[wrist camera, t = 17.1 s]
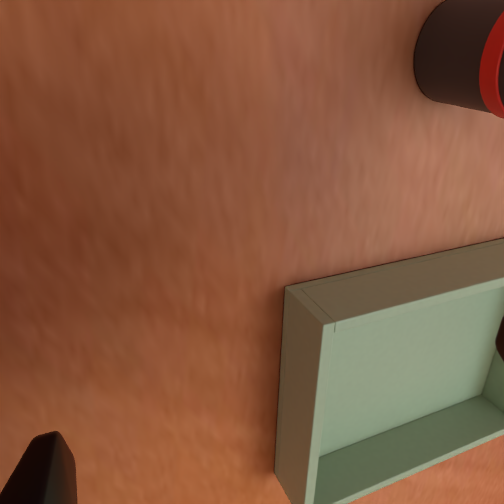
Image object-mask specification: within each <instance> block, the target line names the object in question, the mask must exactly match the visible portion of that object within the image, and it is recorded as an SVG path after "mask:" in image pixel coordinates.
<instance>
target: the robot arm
mask: <svg viewBox="0 0 504 504" xmlns="http://www.w3.org/2000/svg"><path fill="white" fill-rule="evenodd" d="M495 346H496V349H497V351H498V353H499V355H500V357H501V358H502V360H503V362H504V316H503V318H502V320H501V323H500V326H499V329H498V332H497V335H496V338H495ZM0 504H77V486H76V467H75V460H74V457H73V454H72V452H71V450H70V449H69V447H68V445H67V444H66V442H65V440H64V438H63V437H62V435H61V434H60V433H59V432H58V431H53V432H49V433H45V434H42V435H38V436H36V437H35V438H33V440H32V441H31V442H30V444H29V446H28V447H27V449H26V451H25V453H24V454H23V456H22V458H21V459H20V461H19V463H18V464H17V466H16V468H15V470H14V471H13V473H12V475H11V476H10V478H9V480H8V482H7V483H6V485H5V487H4V488H3V490H2V492H1V493H0Z"/></svg>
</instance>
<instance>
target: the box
mask: <svg viewBox="0 0 504 504" xmlns="http://www.w3.org/2000/svg"><path fill="white" fill-rule="evenodd" d="M503 316H504V238H503V239H498V240H494V241H489V242H485V243H480V244H476V245H471V246H466V247H462V248H457V249H453V250H448V251H444V252H439V253H435V254H430V255H426V256H421V257H417V258H412V259H408V260H403V261H399V262H394V263H390V264H385V265H381V266H376V267H372V268H367V269H362V270H358V271H353V272H349V273H344V274H340V275H335V276H331V277H326V278H322V279H317V280H313V281H308V282H304V283H299V284H295V285H290V286H286V287H285V298H284V315H283V332H282V349H281V366H280V383H279V400H278V418H277V435H276V452H275V469H274V473H275V475H276V477H277V478H278V480H279V482H280V484H281V486H282V488H283V489H284V491H285V493H286V495H287V496H288V498H289V500H290V502H291V504H347V503H349V502H352V501H354V500H356V499H358V498H361V497H363V496H365V495H367V494H370V493H372V492H374V491H377V490H379V489H381V488H383V487H386V486H388V485H390V484H392V483H395V482H397V481H399V480H401V479H404V478H406V477H408V476H410V475H413V474H415V473H417V472H420V471H422V470H424V469H426V468H429V467H431V466H433V465H435V464H438V463H440V462H442V461H444V460H447V459H449V458H451V457H453V456H456V455H458V454H460V453H462V452H465V451H467V450H469V449H472V448H474V447H476V446H478V445H481V444H483V443H485V442H487V441H490V440H492V439H494V438H496V437H499V436H501V435H503V434H504V362H503V360H502V358H501V357H500V355H499V353H498V351H497V349H496V346H495V338H496V335H497V332H498V329H499V326H500V323H501V320H502V318H503Z"/></svg>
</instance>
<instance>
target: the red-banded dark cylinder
mask: <svg viewBox="0 0 504 504" xmlns="http://www.w3.org/2000/svg"><path fill="white" fill-rule="evenodd" d="M414 67H415V75H416V79H417V82H418V85H419V86H420V88H421V90H422V91H423V93H424V94H425V95H426V96H427V97H428V98H430V99H432V100H434V101H437V102H441V103H446V104H451V105H456V106H460V107H465V108H470V109H475V110H479V111H484V112H489V113H493V114H494V115H496V116H498V117H500V118H504V0H446V1H445V2H443V3H442V4H441V5H439V6H438V7H437V8H436V9H435V10H434V11H433V13H432V14H431V15H430V17H429V18H428V19H427V21H426V23H425V24H424V26H423V29H422V31H421V33H420V36H419V38H418V42H417V45H416V51H415V59H414Z"/></svg>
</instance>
